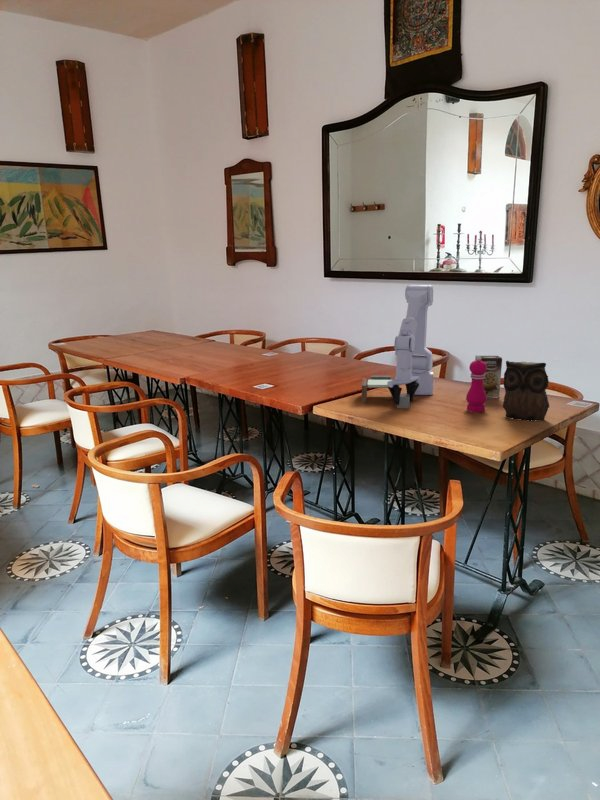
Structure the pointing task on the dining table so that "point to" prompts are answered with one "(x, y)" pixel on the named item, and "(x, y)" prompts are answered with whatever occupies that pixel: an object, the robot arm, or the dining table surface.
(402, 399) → the grey cube
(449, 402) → the dining table surface
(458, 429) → the dining table surface
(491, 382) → the coffee box
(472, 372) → the pepper mill
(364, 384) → the frame
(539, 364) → the owl
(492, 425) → the dining table surface
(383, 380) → the trapdoor
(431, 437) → the dining table surface
